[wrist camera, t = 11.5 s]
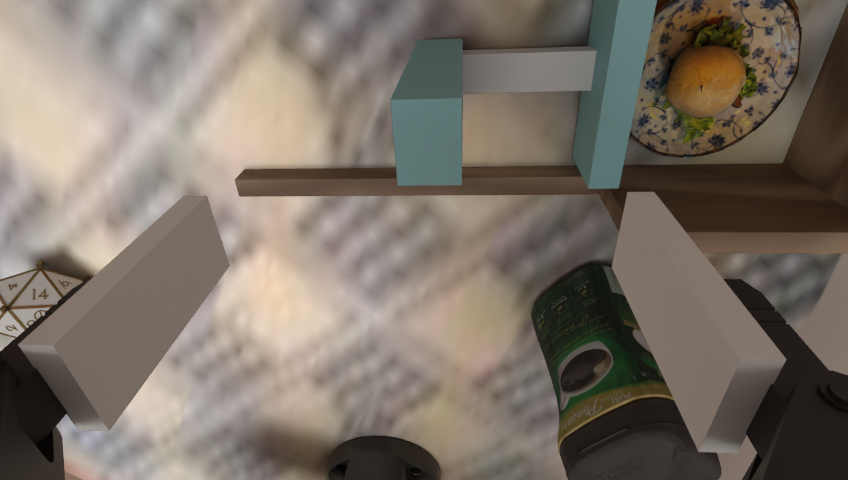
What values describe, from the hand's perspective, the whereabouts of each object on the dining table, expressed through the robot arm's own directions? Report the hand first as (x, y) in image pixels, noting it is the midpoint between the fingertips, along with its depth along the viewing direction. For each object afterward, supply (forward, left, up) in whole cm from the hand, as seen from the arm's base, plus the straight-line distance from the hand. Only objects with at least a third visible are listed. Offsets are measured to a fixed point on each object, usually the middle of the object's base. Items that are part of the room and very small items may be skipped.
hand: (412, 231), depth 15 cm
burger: (-1, -18, -23) cm, 29 cm away
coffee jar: (-22, -13, -23) cm, 34 cm away
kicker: (0, -5, -22) cm, 22 cm away
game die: (-20, +39, -23) cm, 49 cm away
